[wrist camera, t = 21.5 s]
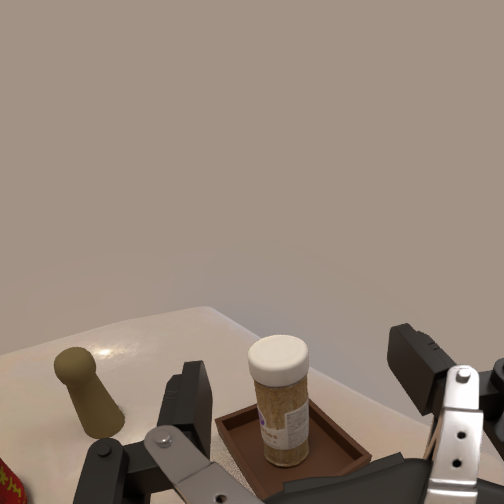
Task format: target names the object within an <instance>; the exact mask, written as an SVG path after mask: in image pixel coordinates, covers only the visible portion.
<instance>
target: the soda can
mask: <svg viewBox="0 0 504 504" xmlns="http://www.w3.org/2000/svg"><path fill="white" fill-rule="evenodd" d="M28 502H29V500H28V496H27V494H26V492H25V490H24V487H23V484H22V483H21V481H20V479H19V478H18V477H17V476H16V475H15V474H14V473H13V472H12V471H11V469H10V468H9V467H8V466H7V465H6V464H5V463H4V462H3V460H2V459H1V458H0V504H28Z"/></svg>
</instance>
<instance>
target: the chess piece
mask: <svg viewBox="0 0 504 504" xmlns="http://www.w3.org/2000/svg"><path fill="white" fill-rule="evenodd" d="M54 370H55V374H56V376H57V377H58V379H59V380H60V381H61V382H62V383H63V384H65V385H66V386H67V389H68V392H69V394H70V397H71V399H72V402H73V405H74V407H75V410H76V412H77V414H78V417H79V419H80V421H81V424H82V426H83V428H84V430H85V432H86V433H87V435H88V436H90V437H92V438H97V439H103V438H108V437H111V436H113V435H115V434H116V433H117V432H119V431H120V429H121V428H122V427H123V425H124V422H125V418H124V415H123V413H122V412H121V410H120V409H119V408H118V406H117V405H116V403H115V402H114V400H113V399H112V397H111V396H110V395H109V393H108V392H107V390H106V389H105V387H104V386H103V384H102V382H101V381H100V379H99V378H98V376H97V375H96V373H95V372H96V363H95V361H94V358H93V356H92V355H91V353H90V352H89V351H87V350H86V349H84V348H81V347H73V348H69V349H66V350H64V351H62V352H61V353H60V354H59V355H58V356H57V357H56V358H55V361H54Z"/></svg>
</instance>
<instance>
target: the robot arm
mask: <svg viewBox="0 0 504 504" xmlns="http://www.w3.org/2000/svg"><path fill="white" fill-rule="evenodd" d="M387 361H388V365H389V367H390V369H391V371H392V372H393V374H394V375H395V376H396V378H397V379H398V381H399V382H400V384H401V385H402V387H403V388H404V390H405V391H406V393H407V394H408V396H409V397H410V398H411V400H412V401H413V403H414V404H415V406H416V407H417V409H418V410H419V412H420V413H421V415H422V416H425V415H427V414H429V413H433V415H434V417H433V420H432V424H431V429H430V433H429V437H428V441H427V445H426V449H425V453H424V456H423V459H420V458H406V459H404V458H403V456H402V454H401V452H399V453H396V454H393V455H390V456H387V457H384V458H381V459H378V460H375V461H373V462H371V463H369V464H367V465H366V466H364V467H362V468H360V469H358V470H356V471H354V472H352V473H350V474H348V475H345V476H325V477H309V478H304V479H299V480H293V481H287V482H282V484H283V490H281V491H278V492H276V493H274V494H272V495H270V496H268V497H267V498H265V499H263V500H262V501H261V500H260V499H258V498H257V497H256V496H255V495H254V494H252V493H251V492H250V491H249V490H248V489H246V488H245V487H244V486H243V485H242V484H241V483H239V482H238V481H237V480H236V479H235V478H234V477H233V476H231V475H230V474H229V473H228V472H227V471H226V470H225V469H224V468H223V467H222V466H220V465H219V464H218V463H217V462H215V461H214V462H210V442H211V421H212V403H213V399H212V391H211V387H210V383H209V380H208V376H207V373H206V369H205V365H204V362H203V361H202V360H201V361H191V362H184V366H183V371H182V374H178V375H173V376H172V378H171V379H170V380H169V381H168V382H167V385H166V389H165V394H164V397H163V401H162V406H161V410H160V414H159V418H158V422H157V427H156V428H154V429H152V430H151V431H149V432H148V433H147V435H146V436H145V439H144V440H143V441H141V442H137V443H133V444H128V445H124V446H122V445H121V443H120V442H119V441H117V440H116V439H113V438H103V439H100V440H97V441H96V442H94V443H93V444H92V445H91V446H90V448H89V450H88V452H87V456H86V459H85V462H84V465H83V469H82V472H81V475H80V479H79V482H78V486H77V489H76V493H75V497H74V500H73V504H150V498H151V494H152V493H156V492H161V491H165V490H169V489H173V490H174V491H175V492H176V493H177V494H178V496H179V497H180V498H181V499H182V500H183V502H184V503H185V504H504V486H502V485H498V484H495V483H492V482H489V481H486V480H482V479H479V478H477V475H478V468H479V461H480V452H481V441H482V429H483V430H484V432H485V433H486V434H487V436H488V438H489V439H490V441H491V442H492V444H493V445H494V447H495V448H496V450H497V451H498V453H499V454H500V456H501V458H502V459H503V461H504V358H501V359H499V360H497V361H496V362H495V364H494V367H493V370H491V371H485V372H477V371H476V369H474V368H473V367H471V366H468V365H457V364H456V363H455V362H454V361H453V360H452V359H451V358H450V357H449V356H448V355H447V354H446V353H445V352H444V351H443V350H442V349H440V347H439V346H438V345H437V344H436V343H435V341H433V339H432V338H430V336H429V335H427V334H424V333H422V332H420V331H417V332H416V331H415V330H414V329H413V328H412V327H411V326H410V325H409V324H408V323H405V324H401V325H398V326H394V327H391V329H390V333H389V345H388V352H387Z"/></svg>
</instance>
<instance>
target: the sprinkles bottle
mask: <svg viewBox="0 0 504 504" xmlns="http://www.w3.org/2000/svg"><path fill="white" fill-rule="evenodd" d="M248 364H249V370H250V374H251V376H252V378H253V379H254V385H255V391H256V396H257V408H258V414H259V420H260V427H261V434H262V438H263V442H264V456H265V457H266V460H268V461H269V462H270V463H271V464H273V465H276V466H278V467H291V466H295V465H298V464H300V463H301V462H302V461H303V460H304V459H305V458H306V457H307V455H308V453H309V445H308V432H309V409H308V392H307V373H308V369H309V355H308V348H307V346H306V344H305V343H304V342H303V341H302V340H301V339H299V338H297V337H293V336H289V335H273V336H269V337H265V338H263V339H260V340H258V341H257V342H255V343H254V344H253V345H252V346H251V347H250V349H249V351H248Z"/></svg>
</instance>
